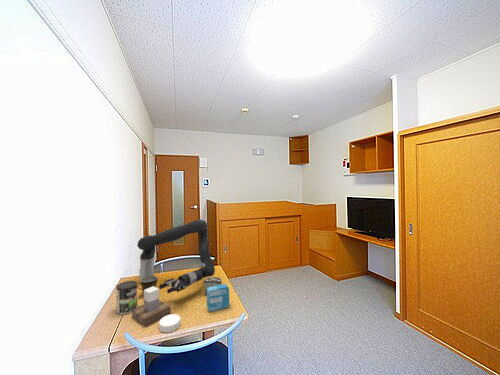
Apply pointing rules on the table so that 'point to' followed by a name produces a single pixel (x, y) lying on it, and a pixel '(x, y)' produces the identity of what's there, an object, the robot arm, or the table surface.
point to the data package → (217, 297)
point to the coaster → (169, 323)
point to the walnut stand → (150, 314)
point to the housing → (151, 299)
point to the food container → (211, 283)
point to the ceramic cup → (148, 282)
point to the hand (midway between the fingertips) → (163, 289)
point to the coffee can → (126, 297)
